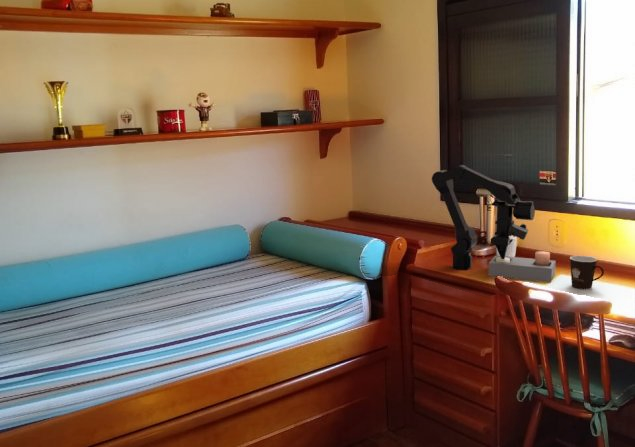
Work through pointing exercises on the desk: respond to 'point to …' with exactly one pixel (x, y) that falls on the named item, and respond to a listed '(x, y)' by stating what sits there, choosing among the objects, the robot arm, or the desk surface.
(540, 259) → the terracotta button
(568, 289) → the desk surface
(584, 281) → the coffee mug
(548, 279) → the grey rectangular block
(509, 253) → the white cup
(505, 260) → the white short cylinder
